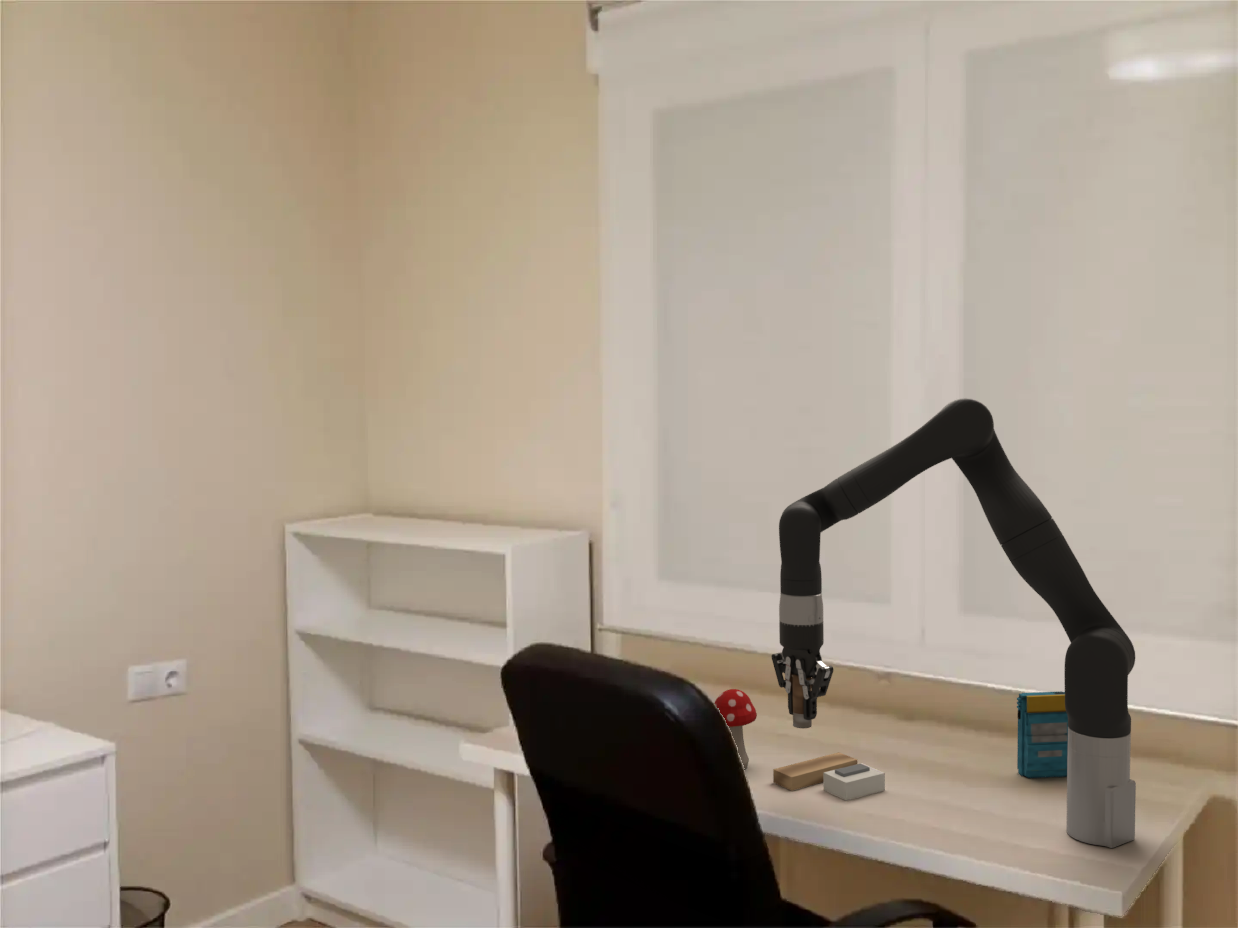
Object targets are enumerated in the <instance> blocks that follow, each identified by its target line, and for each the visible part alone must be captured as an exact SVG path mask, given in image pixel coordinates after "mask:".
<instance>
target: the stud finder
mask: <svg viewBox="0 0 1238 928" xmlns="http://www.w3.org/2000/svg"><path fill="white" fill-rule="evenodd" d="M822 783H823V791H824V792H826V793H829V794H830V795H832V796H836V797H838V798H839V799H842V800H844V801H850V800H854V799H858V798H861V797H865V796H870V795H873V794H876V793H877V794H878V793H880V792H884V791H886V790H885V789H886V772H884V771H881V770H879V769H876V768H874V767H872V766H869V765H868V764H865V763H862V762H861V763H857V764H856V765H852V766H848V767H844V768H840V769H836V770H832V771H828V772H824V773H823V782H822Z"/></svg>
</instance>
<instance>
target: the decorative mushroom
mask: <svg viewBox="0 0 1238 928" xmlns="http://www.w3.org/2000/svg"><path fill="white" fill-rule="evenodd" d="M714 704H715V706H716V707H717V708H719V710H720V713H721V714H722V715H723V717H724V718H725V720H726V723H727V725H728V726H729V728H730V730H731V732H732V736H733V738H734V740H735V743H736V745H737V747H738V753H739V755H740V757H741V760H742V763H743V765H744V768H745V770H746V769H747V768H748V766H749V765H748V764H749V762H750V760H749V759H750V758H749V756H748V753H747V750H746V746H745V745H746V744H745V738H744V731H743V730H744V729H743V726H747V725H750V724H752V723H754V722H755V721H756V719H757V717H758V716H757V715H758V713H757V710H756V708H755V705H754V704H753V702H752V701H751V698H750V696H749V695H748V694H747V693H745V692H744V691H743V690H741V689H737V688H731V689H727V690H724V691H723V692H721V693H720V694H719V695H718V696H717V698H716V699H715V700H714ZM714 704H713V705H714Z"/></svg>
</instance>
